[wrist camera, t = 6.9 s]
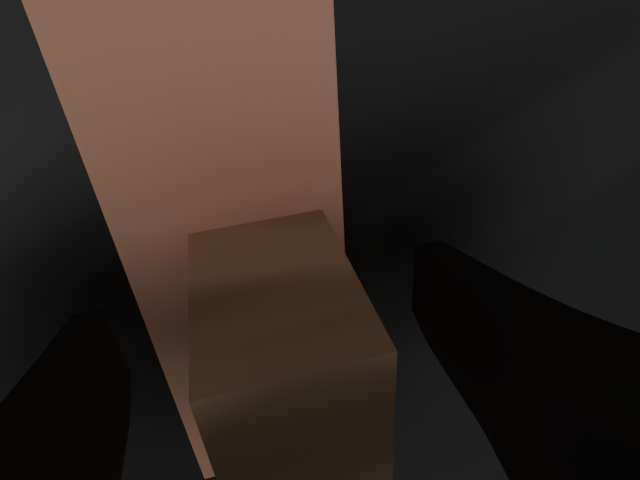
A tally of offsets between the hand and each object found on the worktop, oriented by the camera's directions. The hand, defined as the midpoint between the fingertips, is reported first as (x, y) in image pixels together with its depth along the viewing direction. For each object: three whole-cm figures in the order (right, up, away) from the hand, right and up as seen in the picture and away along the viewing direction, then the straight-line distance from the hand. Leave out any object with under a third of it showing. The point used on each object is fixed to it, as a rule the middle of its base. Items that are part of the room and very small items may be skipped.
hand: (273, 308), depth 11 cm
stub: (-1, +1, +2) cm, 2 cm away
